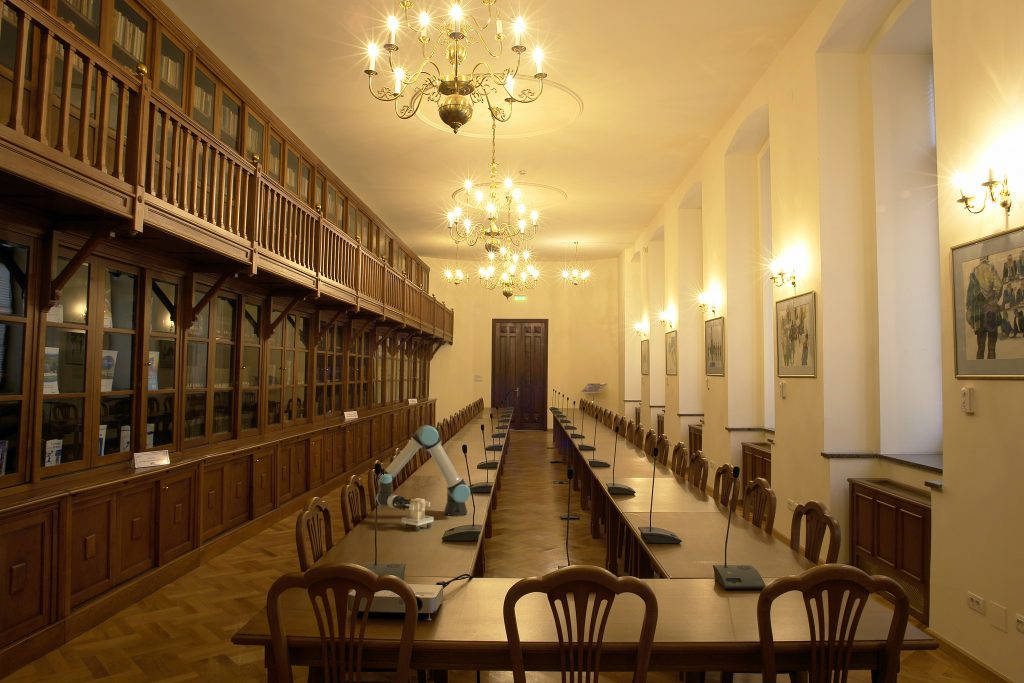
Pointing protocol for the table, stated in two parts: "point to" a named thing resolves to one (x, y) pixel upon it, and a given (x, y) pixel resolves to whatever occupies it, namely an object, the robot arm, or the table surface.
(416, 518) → the maple block
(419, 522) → the cart
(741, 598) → the table surface
